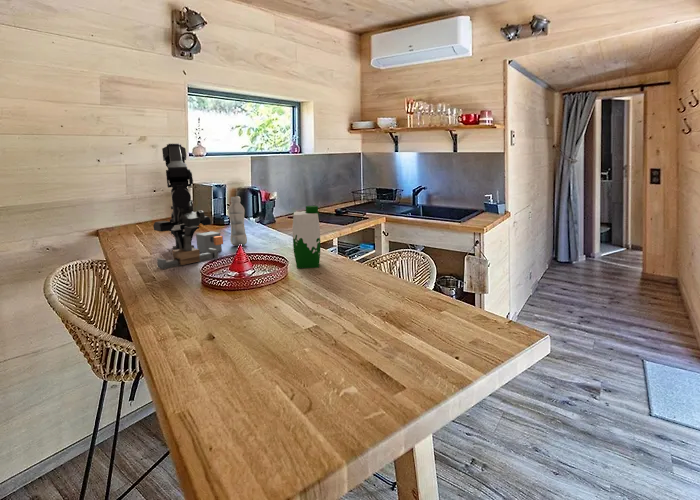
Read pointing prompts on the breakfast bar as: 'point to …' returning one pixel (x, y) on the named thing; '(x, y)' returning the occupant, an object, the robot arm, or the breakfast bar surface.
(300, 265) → the milk carton
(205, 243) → the block
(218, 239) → the plunger
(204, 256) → the rail
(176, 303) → the breakfast bar surface
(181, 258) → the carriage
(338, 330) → the breakfast bar surface
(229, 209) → the plastic bottle
